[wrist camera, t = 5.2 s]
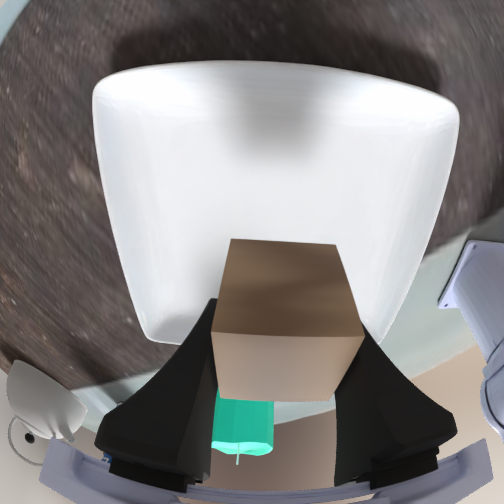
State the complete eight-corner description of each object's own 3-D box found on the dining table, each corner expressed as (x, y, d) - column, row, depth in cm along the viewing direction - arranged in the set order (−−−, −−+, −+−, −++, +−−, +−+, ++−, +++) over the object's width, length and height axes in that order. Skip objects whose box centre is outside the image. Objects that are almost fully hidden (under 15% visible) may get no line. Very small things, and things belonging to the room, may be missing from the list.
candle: (211, 341, 26) (193, 454, 16) (271, 340, 26) (270, 459, 16) (224, 371, 30) (212, 467, 20) (275, 370, 29) (274, 469, 19)
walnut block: (335, 244, 11) (365, 336, 7) (317, 316, 14) (328, 400, 10) (230, 238, 12) (211, 331, 7) (232, 312, 14) (220, 397, 10)
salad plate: (437, 97, 13) (467, 104, 10) (371, 324, 25) (379, 351, 22) (115, 76, 13) (85, 79, 10) (156, 315, 25) (146, 342, 22)
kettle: (62, 376, 39) (28, 469, 20) (110, 421, 52) (91, 493, 33) (0, 350, 40) (-32, 419, 22) (45, 397, 53) (24, 456, 35)
